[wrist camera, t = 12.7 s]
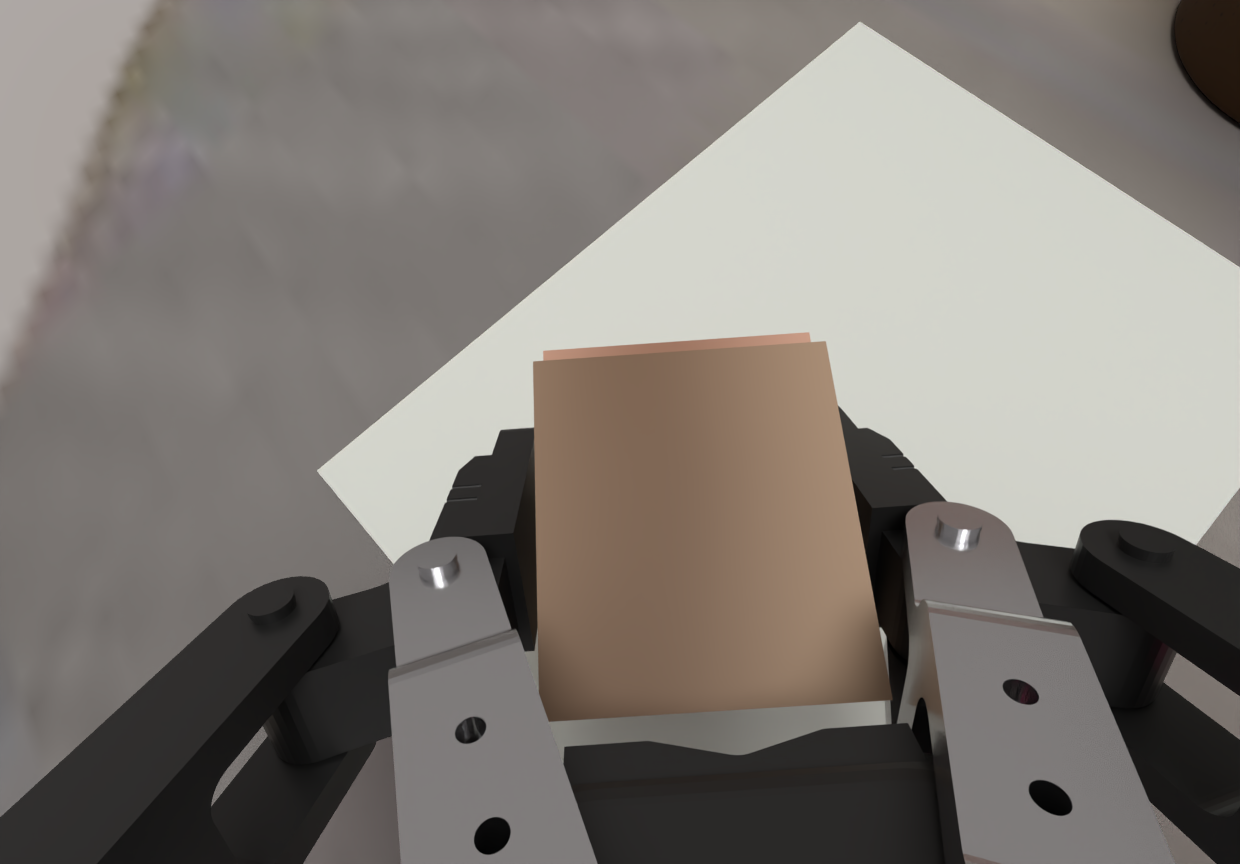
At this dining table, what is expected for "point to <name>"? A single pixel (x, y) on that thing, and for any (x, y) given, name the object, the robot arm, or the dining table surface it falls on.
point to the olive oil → (1212, 49)
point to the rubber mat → (879, 329)
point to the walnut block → (698, 532)
